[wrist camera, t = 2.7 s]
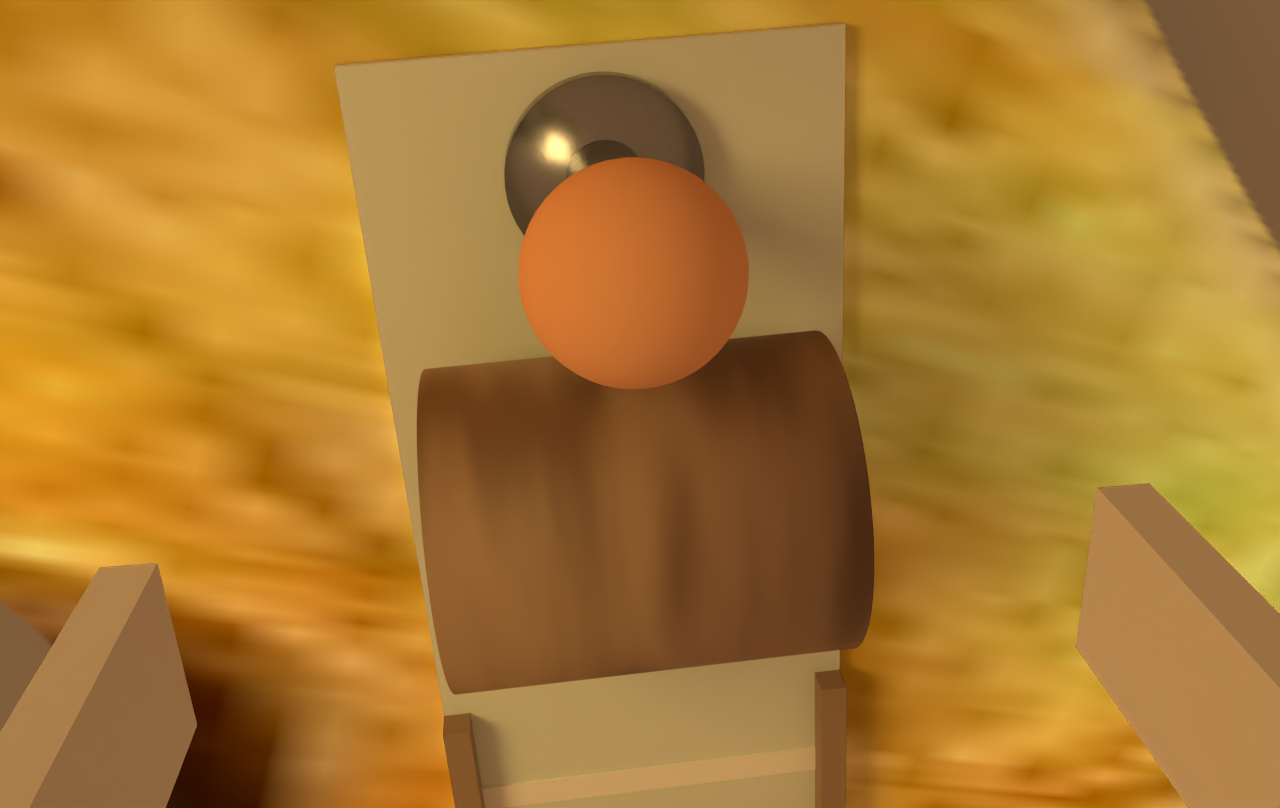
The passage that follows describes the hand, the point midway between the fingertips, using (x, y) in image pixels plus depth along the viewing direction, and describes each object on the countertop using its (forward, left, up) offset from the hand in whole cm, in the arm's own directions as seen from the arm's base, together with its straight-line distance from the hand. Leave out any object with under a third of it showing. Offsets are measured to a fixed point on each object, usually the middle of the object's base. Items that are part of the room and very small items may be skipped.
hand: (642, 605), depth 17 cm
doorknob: (+1, +1, -20) cm, 20 cm away
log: (+1, -7, -20) cm, 21 cm away
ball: (+1, +1, -13) cm, 13 cm away
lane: (+1, -13, -20) cm, 24 cm away
